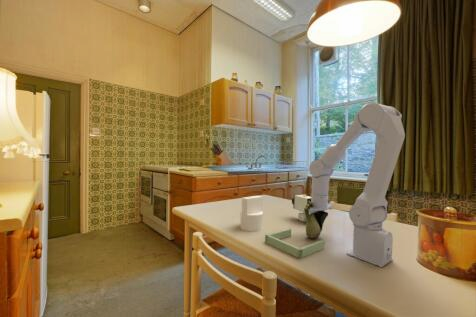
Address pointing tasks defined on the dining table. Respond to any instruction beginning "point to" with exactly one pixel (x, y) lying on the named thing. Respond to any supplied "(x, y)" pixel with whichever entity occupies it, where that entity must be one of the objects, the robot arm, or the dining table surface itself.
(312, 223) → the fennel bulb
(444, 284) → the dining table surface
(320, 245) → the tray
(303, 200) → the pneumatic valve
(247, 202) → the cylinder with rectangular tab
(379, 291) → the dining table surface
